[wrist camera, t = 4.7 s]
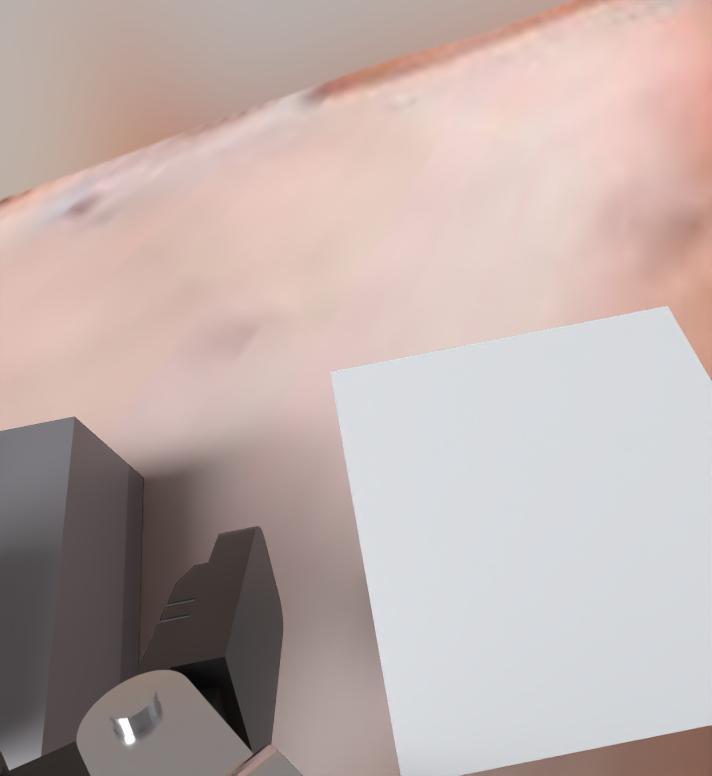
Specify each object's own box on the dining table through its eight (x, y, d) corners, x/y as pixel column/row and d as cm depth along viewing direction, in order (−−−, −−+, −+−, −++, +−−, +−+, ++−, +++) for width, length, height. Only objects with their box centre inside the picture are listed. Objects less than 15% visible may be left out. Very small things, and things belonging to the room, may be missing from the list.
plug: (525, 540, 15) (667, 305, 7) (581, 709, 13) (892, 689, 5) (379, 569, 15) (330, 371, 7) (412, 743, 13) (402, 787, 5)
